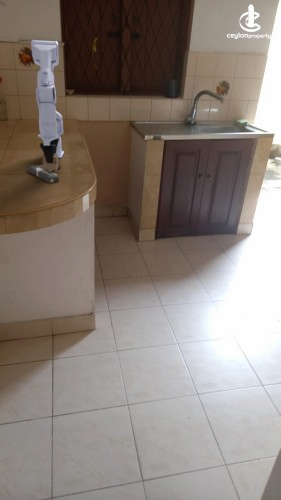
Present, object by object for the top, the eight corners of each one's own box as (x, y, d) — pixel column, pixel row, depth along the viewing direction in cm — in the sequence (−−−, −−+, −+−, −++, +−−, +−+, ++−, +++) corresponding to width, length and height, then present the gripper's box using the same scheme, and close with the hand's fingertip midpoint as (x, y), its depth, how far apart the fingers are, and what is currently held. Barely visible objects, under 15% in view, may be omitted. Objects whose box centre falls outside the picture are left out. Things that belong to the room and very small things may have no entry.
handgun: (53, 160, 143) (25, 165, 136) (78, 172, 132) (49, 177, 125) (53, 166, 144) (26, 171, 137) (78, 178, 133) (50, 184, 126)
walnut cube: (45, 165, 136) (44, 152, 134) (58, 166, 137) (57, 153, 134) (43, 169, 132) (42, 156, 130) (56, 170, 133) (55, 156, 130)
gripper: (40, 118, 132) (43, 154, 139) (33, 126, 120) (36, 165, 127) (59, 119, 133) (61, 155, 140) (54, 127, 120) (56, 166, 127)
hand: (51, 160), depth 133 cm, fingers open, 6 cm apart
